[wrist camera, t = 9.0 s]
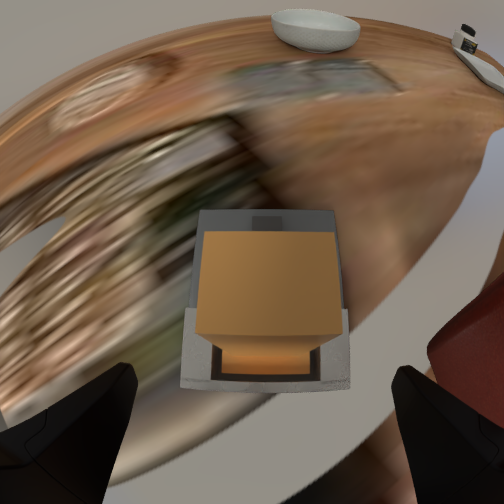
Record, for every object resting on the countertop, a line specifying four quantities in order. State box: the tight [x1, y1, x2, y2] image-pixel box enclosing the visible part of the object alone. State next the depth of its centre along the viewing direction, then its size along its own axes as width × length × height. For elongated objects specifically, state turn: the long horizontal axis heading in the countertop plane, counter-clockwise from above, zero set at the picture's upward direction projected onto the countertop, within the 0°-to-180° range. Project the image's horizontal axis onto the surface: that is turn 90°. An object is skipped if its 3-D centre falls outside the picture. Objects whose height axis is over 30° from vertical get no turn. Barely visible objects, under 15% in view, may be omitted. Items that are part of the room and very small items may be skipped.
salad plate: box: [453, 47, 504, 94], centre depth 44 cm, size 21×21×3 cm
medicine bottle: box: [451, 24, 478, 56], centre depth 49 cm, size 7×7×12 cm
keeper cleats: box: [180, 308, 350, 393], centre depth 18 cm, size 6×11×2 cm, turn 89°
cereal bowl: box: [271, 9, 360, 53], centre depth 39 cm, size 17×17×7 cm
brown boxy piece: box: [195, 216, 343, 374], centre depth 16 cm, size 13×6×12 cm, turn 179°
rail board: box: [189, 209, 344, 381], centre depth 22 cm, size 15×12×1 cm
